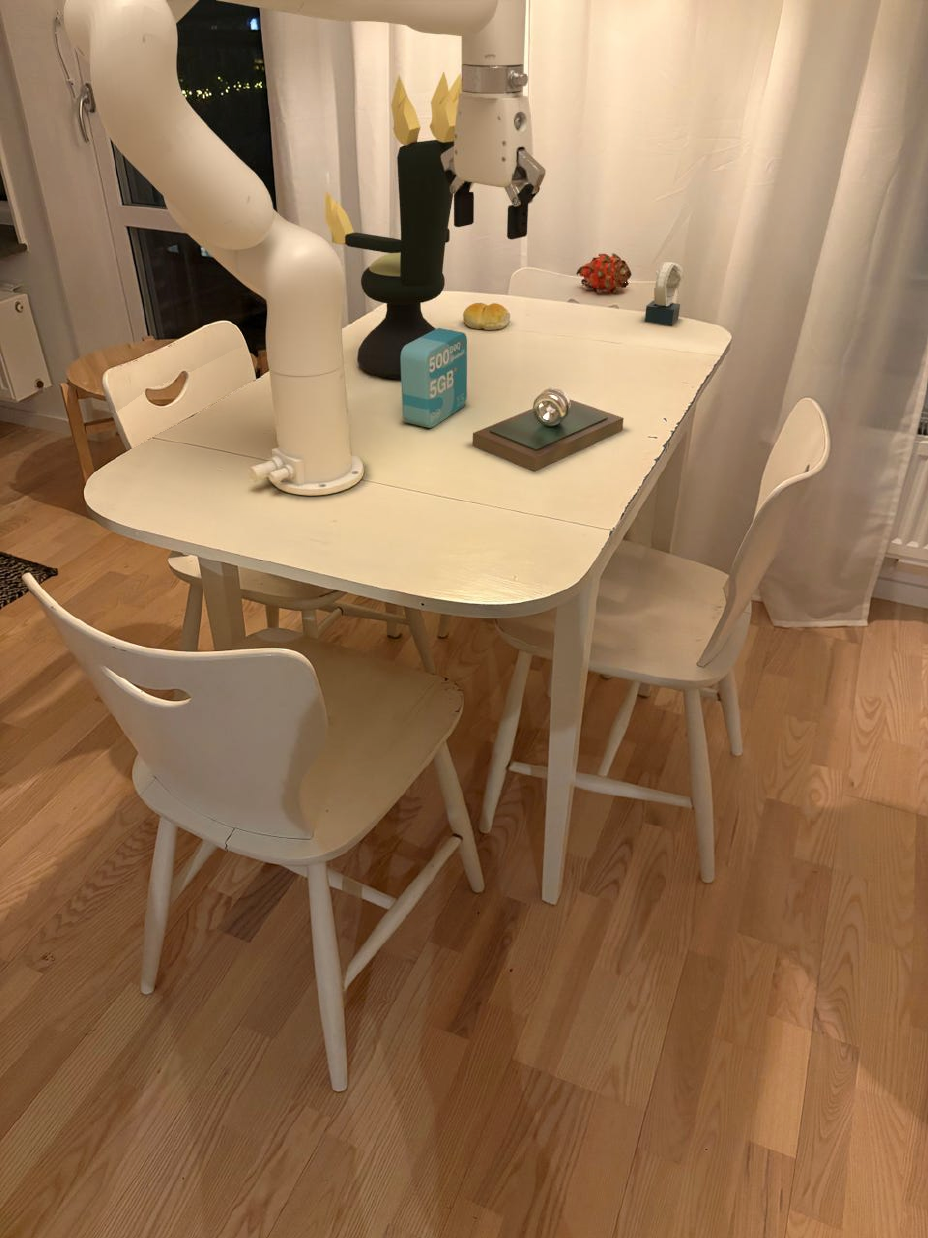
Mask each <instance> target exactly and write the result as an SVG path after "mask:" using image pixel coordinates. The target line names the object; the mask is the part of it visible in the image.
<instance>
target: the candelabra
mask: <svg viewBox="0 0 928 1238" xmlns="http://www.w3.org/2000/svg"><path fill="white" fill-rule="evenodd" d="M460 93H462V73H459V74H458V76H457V77H456V79H455V81H454V82H453V84H452V85H451V86H450V89H449V86H448V81H447V78H446V74H445V71H442V74H441V76H440V79H439V81H438V84H437V85H436V88H435V90H434V93H433V96H432V98H431V101H430V107H431V122H430V125H429V129H430V131H431V133H432V135H433V137H434V138H435V139H432V140H431V139H430V140H423V141H418V139H419V134H420V130H421V124H420V121H419V118H418V115H417V112H416V109H415V107H414V106H413V104H412V102H411V100H410V98H409V97H408V94H407V92H406V89H405V85H404V83H403V80H402V78H401V76H400V74H398V77H397V81H396V84H395V88H394V91H393V97H392V101H391V107H390V108H391V112H392V118H393V133H394V135H395V138H396V140H397V141H398V142H399V143H400V144H401V146H400V147H399V149H398V152H397V157H396V161H397V182H398V200H399V201H398V203H399V221H400V239H399V238H395V237H388V236H383V235H376V234H369V233H363V232H355V231H354V229H353V226H352V223H351V220H350V218H349V216H348V213H347V212H346V211H345V210H344V208H343V207H342V206H341V205H340V204H339V203H338V201H335V200H334V199H333V197H332V195H331V194H330V193H329V192H328V190H325V195H324V196H325V197H324V198H325V200H324V203H325V204H324V205H325V208H324V211H325V212H324V216H325V217H324V218H325V219H324V220H325V221H324V222H325V223H326V225H327V227H328V229H329V231H330V235H331V243H332V244H335V245H346V246H347V247H348V248H349V247H350V248H355V249H361V250H366V251H374V252H380V253H386V254H384V255H381V256H379V257H378V258H376V259H375V260H374V261H373V262H372V263H371V264H370V265H369V266H367V267H366V269H365V270H364V271H363V272H362V275H361V277H360V286H361V289H362V291H363V293H365V295H366V296H367V297H368V298H370V299H371V300H374V301H376V302H378V303H382V304H386V312H385V316H384V318H383V319H382V320H381V321H380V323H378V324H377V326H375V327H374V328H373V329H372V330H371V331H370V332H369V333H368V335H366V336H365V337H364V339H363V341H362V342H361V343H360V346H359V348H358V349H357V357H356V362H357V363H358V364H359V366H361V367H362V369H364V371H365V372H367V373H369V374H372V375H374V376H376V377H377V376H378V377H382V378H386V379H397V380H401V352H402V349H403V348H404V346H405V345H407V344H409V343H411V342H412V341H414V340H416V339H418V338H420V337H422V336H424V335H426V334H428V333H430V332H432V331H434V330H435V329H437V328H436V327H434V326H433V325H432V324H431V323H430V322H429V321H428V320H427V319H426V318H425V317H424V315H423V312H422V308H421V307H422V304H424V303H427V302H430V301H432V300H434V299H436V298H437V297H438V296H440V295H441V293H442V292H443V291H444V288H445V285H446V283H445V281H446V279H445V276H444V273H443V271H444V260H445V250H446V244H447V243H449V242H450V237H451V235H450V233H451V232H450V229H449V223H450V216H451V212H452V211H451V210H452V205H453V201H454V194H452V193H451V192H450V184H449V183H448V181H447V179H446V177H445V171H444V167H443V164H442V161H441V154H442V153H444V152H445V151H447V150H448V149H450V148H451V147H453V146H454V137H455V123H456V113H457V106H458V100H459V94H460Z"/></svg>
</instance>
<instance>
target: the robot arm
mask: <svg viewBox="0 0 928 1238" xmlns="http://www.w3.org/2000/svg"><path fill="white" fill-rule="evenodd" d="M199 1H200V0H65V2H64V4H63V13H62V14H63V15H62V16H63V24H64V29H65V32H66V36H67V37H68V40H69V43H70V44H71V46H72V47H73V49H74V50H75V51H76V53H77V54H78V56H80V57H81V58H82V59H83V61H85V62H86V63H88V64H89V76H90V77H89V78H90V84H91V91H92V97H93V100H94V103H95V107H96V110H97V113H98V116H99V119H100V122H101V123H102V126H103V128H104V129H105V132H106V134H107V135H108V137H109V138H110V140H111V141H112V143H113V144H114V146H115V147H116V148H117V150H118V151H119V152H120V153H121V155H122V156H124V158H125V159H126V160H127V161H128V162H129V163H130V164H131V165H132V166H133V167H134V168H135V169H136V170H137V171H138V172H139V173H140V174H141V175H142V176H143V177H144V178H145V179H146V180H147V181H148V182H149V183H150V184H151V185H152V186H153V187H154V188H155V189H156V191H158V193H160V194H161V195H162V196H163V201H164V203H165V206H166V209H167V210H168V213H169V214H170V216H171V217H172V219H173V220H174V221H175V222H176V224H177V225H178V226H179V227H180V228H181V229H182V230H183V231H184V232H185V233H186V234H187V235H188V236H190V238H191V239H192V240H194V241H195V242H196V243H197V244H198V245H199V246H200V247H202V248H203V249H204V250H205V251H206V252H207V253H208V254H209V255H210V256H211V257H212V258H213V259H215V260H216V261H217V262H218V263H219V264H220V265H221V266H222V267H223V268H224V269H226V270H227V271H228V272H229V273H230V274H231V275H232V276H233V277H235V278H236V279H237V280H238V281H239V282H240V283H242V284H243V285H244V286H245V287H246V288H248V289H250V290H251V291H252V292H253V293H255V294H257V295H259V296H260V297H262V299H264V300H265V302H266V310H267V312H266V313H267V314H266V324H265V325H266V326H265V351H266V359H267V366H268V372H269V380H270V387H271V396H272V405H273V413H274V421H275V430H276V438H277V445H278V446H277V447H275V448H272V449H271V457H270V458H267V461H266V462H263V463H259V464H256V465H253V466H250V467H249V468H248V469H247V470H248V476H249V478H250V479H251V481H252V482H255V483H256V482H259V481H261V480H264V479H267V478H268V480H269V481H270V483H272V484H273V486H275V487H276V488H277V489H279V490H281V491H283V492H286V493H289V494H293V495H299V496H325V495H331V494H336V493H340V492H342V491H346V490H348V489H350V488H351V487H353V486H355V485H357V484H358V483H359V482H360V481H361V480H362V479H363V476H364V474H365V471H364V470H365V469H364V464H363V461H362V460H361V459H360V457H358V456H356V455H355V454H353V453H352V448H351V434H350V420H349V408H348V395H347V394H348V393H347V381H346V379H347V378H346V367H345V359H344V356H345V355H344V343H343V342H344V341H343V313H344V312H343V310H344V302H345V289H346V281H345V280H346V279H345V270H344V268H343V264H342V261H341V259H340V257H339V256H338V254H337V252H336V250H335V248H333V246H331V244H330V243H329V242H327V241H326V240H325V239H324V238H323V237H322V236H320V235H318V234H317V233H315V232H313V231H311V230H309V229H306V228H304V227H303V226H300V225H298V224H294V223H292V222H291V221H288V220H287V219H285V218H284V217H283V216H282V215H280V213H279V212H278V211H276V210H275V209H274V205H273V201H272V197H271V194H270V193H269V190H268V189H267V187H266V186H265V184H264V182H263V181H262V179H261V178H260V177H259V175H258V174H257V173H256V172H255V171H254V170H252V169H251V168H250V167H249V166H248V165H247V164H246V163H245V162H244V161H243V160H242V159H240V158H239V156H237V154H236V153H235V152H233V150H231V149H230V148H229V146H228V145H227V144H226V143H225V142H224V141H223V140H222V139H221V138H220V137H219V136H218V135H217V134H216V133H215V132H214V131H213V130H212V129H211V128H210V127H209V126H208V124H207V123H206V122H205V121H204V120H203V119H202V118H201V116H200V115H199V114H198V113H197V112H196V111H195V110H194V109H193V108H192V106H191V105H190V103H189V102H188V101H187V99H186V97H185V95H184V94H183V91H182V89H181V86H180V83H179V82H180V81H179V79H178V72H177V55H178V29H177V23H178V22H179V21H180V20H181V19H182V18H183V17H184V16H185V15H186V14H187V13H189V11H190V10H191V9H192V8H193V7H194V6H195V5H196V4H197V3H198V2H199ZM217 1H218V2H223V3H224V2H225V3H229V4H236V5H240V6H241V5H242V6H247V7H253V8H259V9H265V10H269V11H276V12H281V13H287V14H293V15H298V16H304V17H308V18H313V19H321V20H328V21H337V22H374V23H387V24H394V25H402V26H406V27H407V28H410V30H411V29H412V30H413V31H414V32H415V31H416V32H419V33H423V34H429V35H430V34H432V35H449V36H455V37H456V36H457V37H461V79H462V93H460V94H459V100H458V106H457V113H456V123H455V137H454V146H453V147H451V148H450V149H448V150H447V151H445V152H444V153H442V154H441V161H442V164H443V167H444V171H445V177H446V179H447V181H448V183H449V184H450V192H451V193H452V194H453V226H454V227H455V228H462V227H466V226H471V225H473V224H474V222H475V195H474V192H473V191H470V190H471V189H472V188H473V186H474V184H479V185H483V186H489V187H496V188H503V189H504V190H505V193H506V195H507V196H508V198H509V200H510V202H511V204H510V205H508V206H507V218H506V219H507V222H506V223H507V224H506V226H507V227H506V237H507V239H508V240H511V241H512V240H513V241H514V240H517V239H520V238H525V237H527V235H528V220H529V205H530V204H532V203H533V201H534V198H535V197H536V195H538V194H539V192H540V189H541V188H540V187H541V185H542V183H543V182H544V179H545V176H546V173H547V172H546V169H545V168H544V167H543V165H541V164H540V163H539V162H538V161H537V160H536V159H535V158H534V157H533V156H534V155H533V154H534V149H533V147H534V146H533V125H532V115H531V108H530V101H529V96H528V95H524V87H526V86H527V85H528V81H529V76H528V75H527V73H525V72H524V70H525V45H526V44H525V42H526V41H525V38H526V14H527V0H217Z"/></svg>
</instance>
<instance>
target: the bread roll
mask: <svg viewBox="0 0 928 1238" xmlns="http://www.w3.org/2000/svg"><path fill="white" fill-rule="evenodd" d="M462 318H463V319H462V320H463V323H464V324H465V325H466V326H468V327H469V328H471V329H474V330H475V329H476V330H481V329H484V330H485V331H495V330H501V329H503V328H505V327H507V326H508V324H509V323H510V320H511V313H510V312H509V311H508V309H507V308H506V307H504V306H503V305H502V304H500V303H497V302H496V303H495V302H493V303H490V304H488V305H487V304H486V303H483V302H474V303H472V304H470V305H468V306H467V307H466V308H465V309H464V311H463V314H462Z"/></svg>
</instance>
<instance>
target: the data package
mask: <svg viewBox="0 0 928 1238" xmlns="http://www.w3.org/2000/svg"><path fill="white" fill-rule="evenodd" d="M467 380H468V337H467V334H466V333H465V332H463V331H458V330H453V329H447V328H443V327H437V328H436V329H435V330H434V331H432V332H430V333H428V334H426V335H424V336H422V337H420V338H418V339H416V340H414V341H412V342H411V343H409V344H407V345H405V346H404V348H403V349H402V352H401V379H400V381H401V382H400V383H401V384H400V385H401V405H402V407H401V409H402V410H401V411H402V419H403V421H404V422H405V423H407V424H411V425H415V426H418V427H419V426H420V427H423V428H427V429H432V428H435V426H437V425H438V424H440V423H442V422H444V420H445V419H448V418H449V417H450V416H452V415H453V414H455V413H457V412H458V411H459V410H461V409H463V407H464V406H465V404H466V402H467V398H468V397H467V396H468V386H467V385H468V381H467Z"/></svg>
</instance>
